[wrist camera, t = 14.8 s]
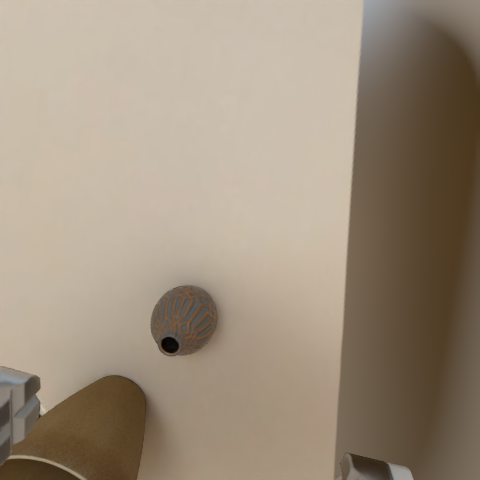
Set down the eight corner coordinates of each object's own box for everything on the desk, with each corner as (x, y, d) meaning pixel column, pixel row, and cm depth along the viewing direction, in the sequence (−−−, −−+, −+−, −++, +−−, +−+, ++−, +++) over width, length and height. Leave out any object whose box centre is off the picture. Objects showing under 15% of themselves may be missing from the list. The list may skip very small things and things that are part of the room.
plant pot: (50, 359, 49) (-59, 463, 34) (153, 343, 46) (84, 448, 31) (89, 449, 53) (7, 579, 38) (187, 439, 50) (141, 575, 35)
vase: (164, 274, 43) (134, 308, 35) (223, 281, 42) (206, 318, 34) (164, 326, 45) (135, 371, 37) (219, 334, 44) (203, 381, 36)
